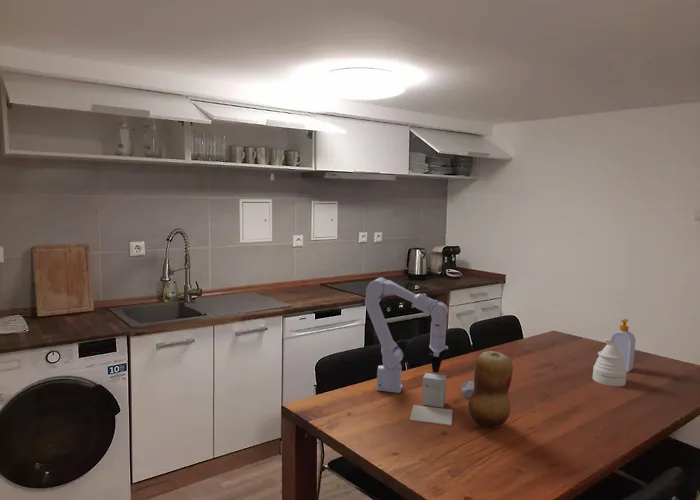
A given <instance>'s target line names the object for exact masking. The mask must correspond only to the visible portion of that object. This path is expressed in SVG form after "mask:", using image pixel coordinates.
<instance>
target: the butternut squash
mask: <svg viewBox="0 0 700 500" xmlns="http://www.w3.org/2000/svg"><path fill="white" fill-rule="evenodd" d="M476 359H477V360H476V363H475V368H474V374H473V375H474V376H473V381H474V391H473V393H472V395H471V397H470V398H469V399H468V400H469V401H468V403H467V406H468V413H469V416H470V417H471V419H472V420H473V421H474V423H475V424H476V425H478V426H480V427H484V428H496V427H499V426H502V425H503V424H505V423H506V422H507V420H508V418H509V416H510V414H511V403H510V399H509V390H510V386H511V382H512V378H513V369H514V367H513V366H514V365H513V361H512V358H510V357H509V356H507V355H505V354H504V353H501V352H498V351H494V350H489V351H483V352H481V354H479V356H478V358H476Z"/></svg>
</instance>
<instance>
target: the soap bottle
mask: <svg viewBox="0 0 700 500" xmlns="http://www.w3.org/2000/svg"><path fill="white" fill-rule="evenodd" d="M628 321H629V319H626V318H624V319H621V320H620V322H621V323H622V324H621V325H619V330H618V331H616V332H614V333H612V334H611V336H610V338H609V339H611V342H610V343H614V344H616V345H617V347H618V348H619V350H620V352H621V354H622V355H623V356H624V358H623V361H624V363H625V369H626V371H627V373H629V372H630V371H631V370H633V369H634V362H635V361H634V359H635V349H636V336H635V335H634V334H633V332H631V331H629V328H630V327H629V325H628V326H627V322H628Z"/></svg>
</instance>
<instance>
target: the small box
mask: <svg viewBox="0 0 700 500" xmlns="http://www.w3.org/2000/svg"><path fill="white" fill-rule="evenodd" d="M421 389H422V390H421V406H427V407H434V408H442V409H444V406H445V404H446V398H447V397H446V395H447V394H446V392H447V391H446V390H447V375H445V374H438V373H429V372H425V373H424V374H423V377H422V388H421Z"/></svg>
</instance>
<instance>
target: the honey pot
mask: <svg viewBox="0 0 700 500" xmlns="http://www.w3.org/2000/svg"><path fill="white" fill-rule="evenodd" d="M603 340H604V343H605V344H606V345H605V346H604V347H603V348H602V350H600V351H598V352H597V355H598V357H597V358H596V361H595V364H594V365H593V366H592V367H593V369H592V370H593V371H592V380H593V381H595V382H596V383H598V384H600V385H601V384H602V385H605V386H606V385H607V386H611V387H624V386H625V385H626V382H627V373H628V372H627V371H626V369H625V363H624V361H623V358H624V356H623V355H622V354H621V352H620V350H619V348H618V347H617V345H616V344H614V343H610V342H611V339H610V338H603Z"/></svg>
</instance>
